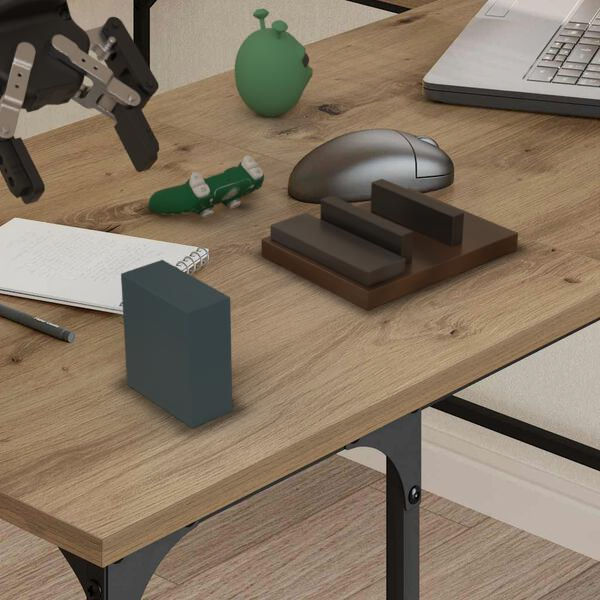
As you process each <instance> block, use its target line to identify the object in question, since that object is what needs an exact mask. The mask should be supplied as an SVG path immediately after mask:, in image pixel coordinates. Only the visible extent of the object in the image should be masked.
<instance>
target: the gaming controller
mask: <svg viewBox="0 0 600 600" xmlns="http://www.w3.org/2000/svg"><path fill="white" fill-rule="evenodd" d="M264 181H265V175H264V171H263V169H262V168H261V167H260V166H259V164H258V162H256V160H255V159H254V158H253V156H250V155H249V154H247V155H244V157H243V159H242V161H240V162H239V164H238V165H237V166H231V167H228V168H226V169H225V170H224V171H222V172H221V173H218V174H216V175H212V176H209V177H205V178H204V177H203V176H202V175H201V173H200V172H199V171H193V172H192V173H191V174H190V177H189V179H187V180H186V182H185V183H183V184H179V185H175V186H171V187H170V186H169V187H166V188H162V189H159V190H156V191H155V192H153V194H152V195H150V197H149V201H148V204H147V208H148V210H149V211H150V212H152V213H156V214H158V215H164V216H181V215H187V214H196V215H198V216H201V218H203V219H207V218H209V217H211V216H212V215H213V214H214V210H213V209H214V207H215V206H217V205H219V204H222V205H224V206H226V207H228V208H229V209H231V210H232V209H235V208H237V207H239V206H240V205H241V204H242V201H241V200H242V197H243V196H245V195H246V196H248V195H250V194H252V193H253V192H255V191H258V190H259V189H260V188H262V187H263V183H264Z"/></svg>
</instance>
